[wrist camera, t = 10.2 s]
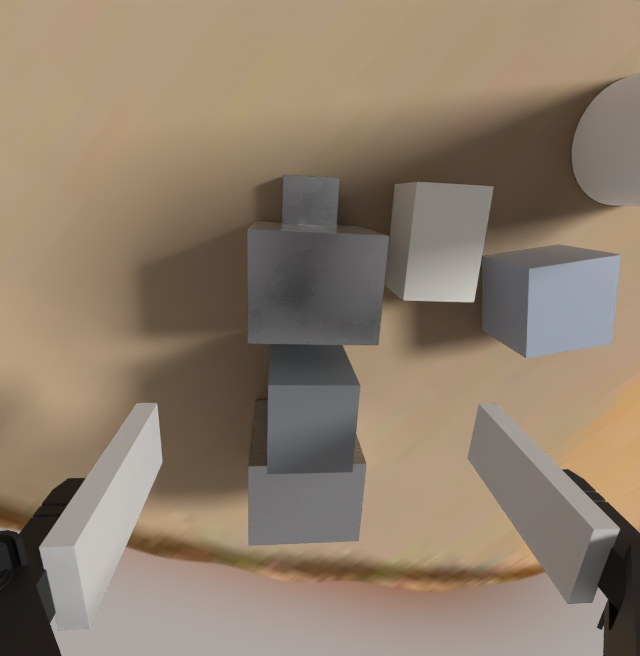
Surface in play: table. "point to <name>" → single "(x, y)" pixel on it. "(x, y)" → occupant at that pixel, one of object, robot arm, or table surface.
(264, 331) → the grey stepped block assembly
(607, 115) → the cylindrical container
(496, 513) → the table surface
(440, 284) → the loose block white
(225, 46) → the table surface
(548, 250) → the loose block slate
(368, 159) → the table surface
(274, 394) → the block
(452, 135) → the table surface
